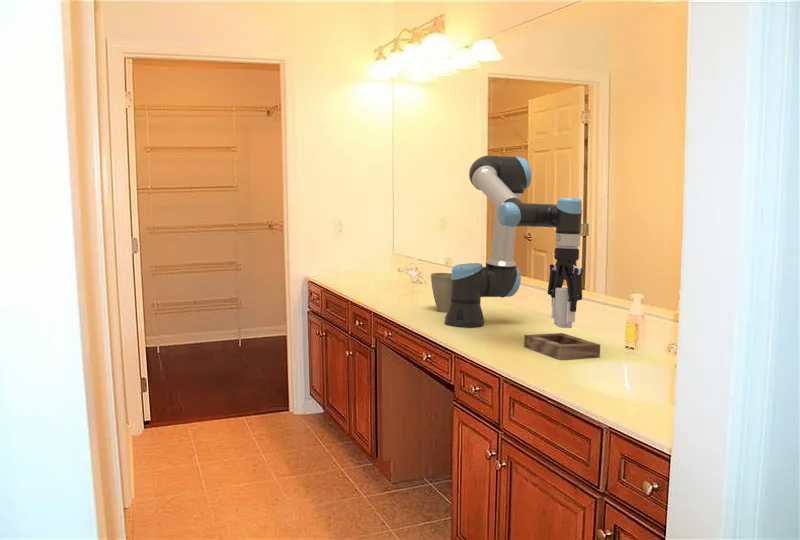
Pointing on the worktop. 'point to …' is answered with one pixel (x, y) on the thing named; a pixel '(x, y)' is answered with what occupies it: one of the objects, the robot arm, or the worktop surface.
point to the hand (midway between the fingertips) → (562, 319)
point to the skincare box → (561, 308)
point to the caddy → (562, 346)
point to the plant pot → (441, 290)
